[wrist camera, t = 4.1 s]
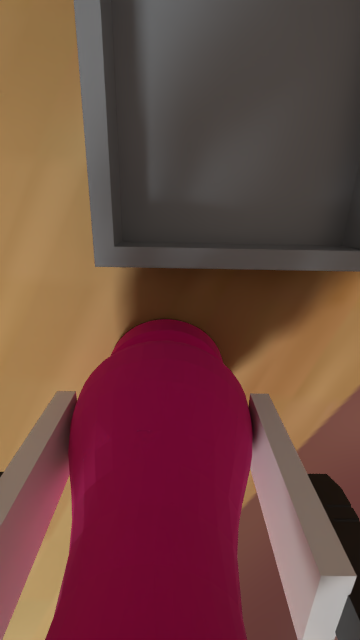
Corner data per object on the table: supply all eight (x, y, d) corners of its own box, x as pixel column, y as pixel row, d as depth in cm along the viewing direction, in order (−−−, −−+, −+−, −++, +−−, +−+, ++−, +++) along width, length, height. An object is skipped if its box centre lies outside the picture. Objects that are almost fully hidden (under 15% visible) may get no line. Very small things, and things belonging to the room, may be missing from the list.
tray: (87, -84, 10) (60, -171, 8) (420, -73, 10) (491, -155, 8) (108, 257, 14) (95, 266, 12) (348, 261, 14) (381, 271, 12)
